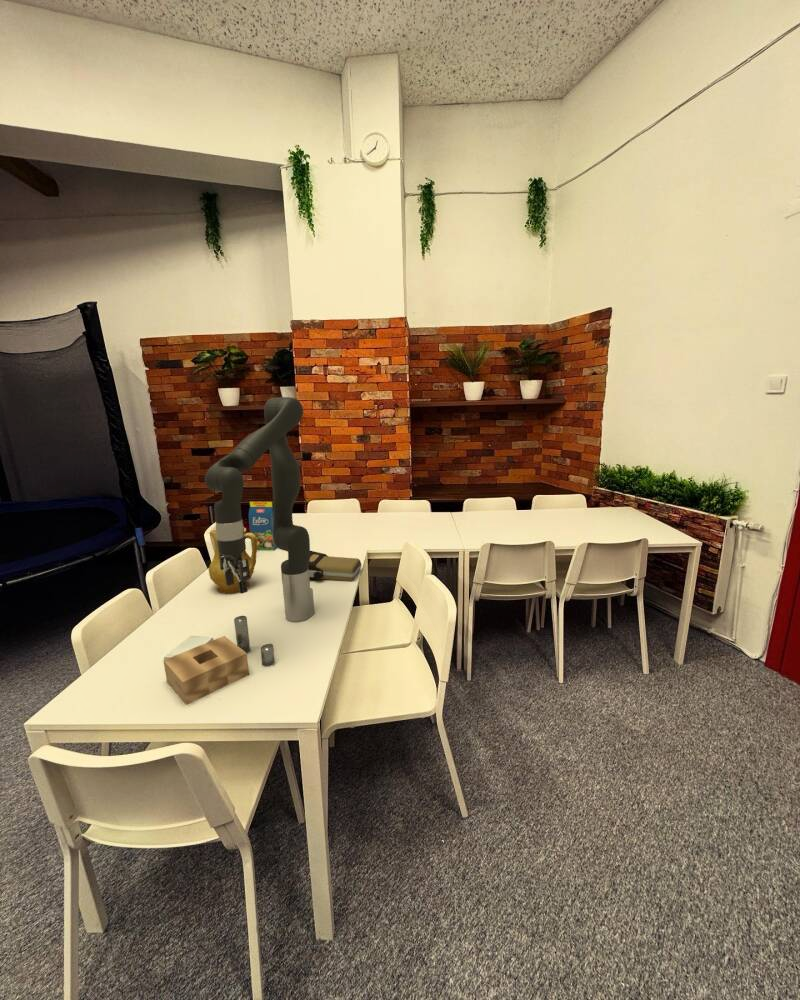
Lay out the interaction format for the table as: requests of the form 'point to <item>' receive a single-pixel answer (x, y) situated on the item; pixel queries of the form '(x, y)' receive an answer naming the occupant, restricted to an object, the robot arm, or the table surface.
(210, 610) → the table surface
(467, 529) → the table surface
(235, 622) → the long pin
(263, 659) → the short pin
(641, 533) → the table surface
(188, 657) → the guide block
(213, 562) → the pitcher
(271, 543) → the blue food package
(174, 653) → the hard drive
